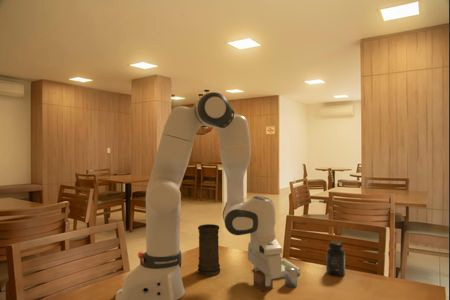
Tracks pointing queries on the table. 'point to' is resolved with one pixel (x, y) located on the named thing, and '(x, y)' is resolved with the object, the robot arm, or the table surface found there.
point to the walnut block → (261, 281)
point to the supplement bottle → (335, 259)
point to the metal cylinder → (290, 276)
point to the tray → (285, 264)
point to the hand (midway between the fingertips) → (263, 281)
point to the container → (208, 250)
